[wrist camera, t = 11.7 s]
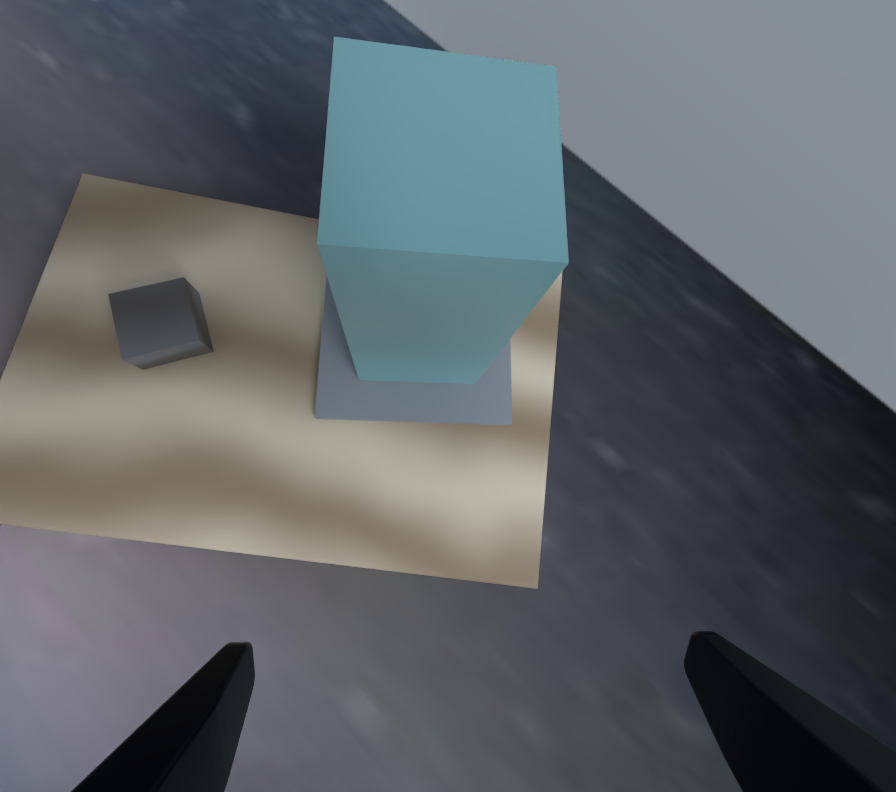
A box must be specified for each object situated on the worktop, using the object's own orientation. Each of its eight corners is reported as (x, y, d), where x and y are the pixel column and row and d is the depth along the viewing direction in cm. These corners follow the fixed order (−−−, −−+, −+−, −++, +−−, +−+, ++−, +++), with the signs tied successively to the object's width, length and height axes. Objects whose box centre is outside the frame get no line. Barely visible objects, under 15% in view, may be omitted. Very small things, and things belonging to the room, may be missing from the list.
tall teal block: (474, 384, 20) (568, 262, 9) (358, 380, 19) (316, 244, 9) (473, 280, 21) (556, 66, 10) (364, 272, 20) (334, 36, 10)
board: (527, 581, 20) (549, 596, 17) (-19, 515, 18) (-98, 520, 15) (552, 280, 24) (574, 251, 21) (103, 194, 22) (58, 148, 19)
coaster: (510, 425, 20) (512, 424, 20) (316, 419, 19) (314, 417, 19) (506, 255, 22) (508, 251, 22) (330, 241, 21) (329, 236, 21)
